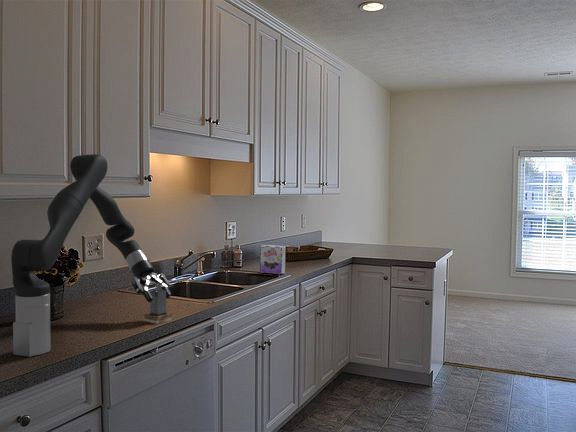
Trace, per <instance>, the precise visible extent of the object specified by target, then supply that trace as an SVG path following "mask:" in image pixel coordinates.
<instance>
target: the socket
mask: <svg viewBox="0 0 576 432" xmlns="http://www.w3.org/2000/svg"><path fill="white" fill-rule="evenodd" d="M172 318H173V315H172V313H171V312H168V311H166V314H165V315H161V316H153V315H150V312H148V313H144V314H143V321H144V322H147V323H151V324H156V325H158V324H161V323H166V322H170V321H172Z"/></svg>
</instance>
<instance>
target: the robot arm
mask: <svg viewBox="0 0 576 432" xmlns="http://www.w3.org/2000/svg"><path fill="white" fill-rule="evenodd" d="M69 167H70V172H71V175H72V176H73V178H74V180H75V181H73V182H71V183H70V184H68V185H67V186H65V187H63V189H60V191H58V192H57V194H56V195H55V196H54V198H53V200H52V201H51V202H50V204H49V205H48V207H47V221H48V224H49V229H48V232H47V234H46V235H45V237H44V238H43V239H20V240H18V241H16V242H15V244H14V245H13V247H12V250H11V259H10V261H11V271H12V272H11V273H12V274H11V275H12V276H11V277H12V284H13V288H14V292H15V295H14V296H15V321H14V322H13V323H12V340H13V341H12V344H13V345H12V347H13V348H12V351H13V352H12V353H13V355H14V356H21V357H22V356H23V357H30V358H31V357H33V356H39V355H42V354H47V353H48V352H50V351H51V285H50V284H49V282H47V281H45V280H44V279H43V280H41V279H39V278H38V277H37V276H36V275H35V274H36V272H34V271H40V272H41V273H43V272H48V271H49V270H51V268H52V267H53V266H54V265H55V263H56V261H57V259H58V256H59V255H60V253H61V250H62V248H63V245H64V243H65V241H66V239H67V237H68V235H69V233H70V231H71V229H72V228H73V226H74V224H75V222H76V221H77V220H78V218H79V217H80V215H81V213H82V212H83V209H84V208H85V205H86V204H87V203H88V200H89V199H90V201H91V202H92V203H93V205H94V206H95V208H96V209H97V211H98V213H99V215H100V217H101V218H102V220H103V222H104V223H105V225H107V226H111V227H108V228H107V230H106V231H105V236H106V239H107V241H109V243H111V245H113V246H114V247H115V248H116V249H117V250H118V251H119V252H120V253H121V255H122V256H123V258H124V260H125V261H126V264H127V266H128V268H129V270H130V271H131V273H132V274H133V276H134V277H133V279H132V280H131V281H130V283H131V285H132V286H133V288H134V290H135V292H136V294H137V295H140V294H141V295H143V297H144V298H145V300H146V301H147V302H148V303H150V302H151V301H152V300H153V297H152V296H151V294H150V290H148V289H150V288H155V289H156V290H157V289H160V290H166V300H168V299H170V298H171V297H172V294H171V291H170V289H169V287H170V286H171V283H170V281H169V280H168V279H167V277H166V275H165V274H164V273H162V272H161V273H160V274H157V273H155V268H154V266H153V264H152V263H151V261H150V259H149V258H148V256H147V255H146V254H145V252H144V251H143V250H142V248H141V246H140V245H139V243H138V242H137V241H136V240H134V239H131V240H129V239H130V238H132V237H133V236H134V235H135V227H134V226H133V225H132V223H131V222H130V221H128V219H126V218H125V216H124V215H123V214H122V212H121V209H120V208H119V205H118V203H117V202H116V201H115V199H114V198H113V197H112V196H111V195H110V194H109V193H108V192H106V191H105V190H104V189H102V188H101V187H100V186H99V185H100V184H101V183H102V181H103V180H104V179H105V177H106V176H107V175H106V174H107V172H108V162H107V159H106V158H105V157H104V156H103V155H101V154H97V153H95V154H94V153H93V154H80V155H76V156H74V157H72V159H71V160H70V166H69ZM126 240H127V241H126Z"/></svg>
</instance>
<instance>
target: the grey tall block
mask: <svg viewBox="0 0 576 432" xmlns="http://www.w3.org/2000/svg"><path fill="white" fill-rule="evenodd" d="M149 292H150V294H151V296H152V297H153V300H152V301H151V302H149V304H150V305H149V307H150V308H149V309H150V310H149V311H150V312H149V313H150V315H153V316H161V315H165V314H166V312H167V298H166V290H161V289H159V288H158V289H157V288H156V289H151V290H149Z"/></svg>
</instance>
